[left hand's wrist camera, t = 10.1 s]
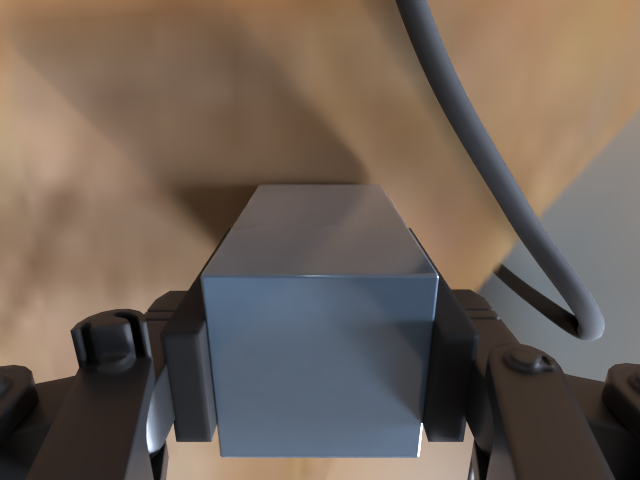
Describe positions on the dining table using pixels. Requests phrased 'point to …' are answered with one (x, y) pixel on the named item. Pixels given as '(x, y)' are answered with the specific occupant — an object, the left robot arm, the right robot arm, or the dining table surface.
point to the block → (319, 326)
